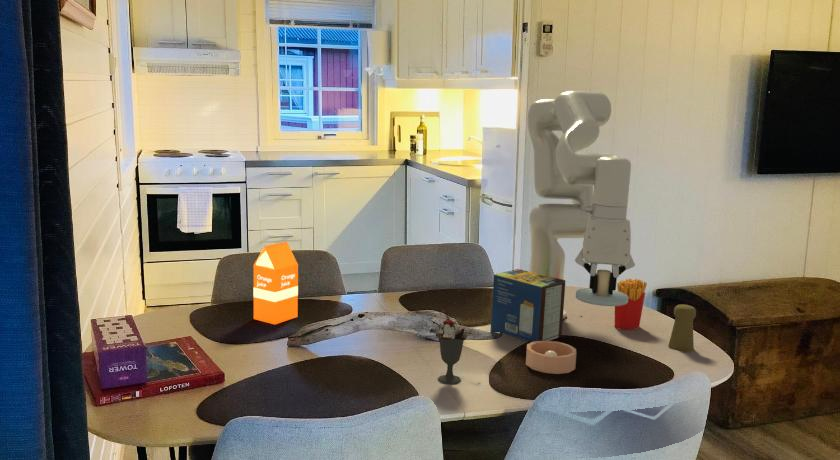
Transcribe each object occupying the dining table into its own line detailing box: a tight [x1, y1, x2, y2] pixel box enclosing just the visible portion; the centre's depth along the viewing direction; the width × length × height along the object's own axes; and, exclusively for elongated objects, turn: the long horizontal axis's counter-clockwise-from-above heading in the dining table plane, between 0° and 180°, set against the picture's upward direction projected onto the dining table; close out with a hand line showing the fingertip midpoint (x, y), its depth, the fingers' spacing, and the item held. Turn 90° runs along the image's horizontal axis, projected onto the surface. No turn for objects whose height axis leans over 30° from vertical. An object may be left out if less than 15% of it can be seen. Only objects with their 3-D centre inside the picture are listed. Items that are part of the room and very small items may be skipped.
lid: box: [575, 269, 628, 307], centre depth 163 cm, size 12×12×6 cm
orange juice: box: [252, 241, 299, 325], centre depth 189 cm, size 8×9×20 cm
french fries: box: [614, 278, 648, 331], centre depth 194 cm, size 9×4×13 cm, turn 115°
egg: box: [544, 350, 558, 356], centre depth 162 cm, size 3×3×3 cm
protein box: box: [490, 268, 566, 343], centre depth 183 cm, size 10×15×16 cm
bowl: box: [525, 340, 577, 375], centre depth 162 cm, size 11×11×4 cm
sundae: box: [435, 310, 468, 385], centre depth 152 cm, size 7×7×15 cm
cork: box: [668, 304, 697, 353], centre depth 179 cm, size 6×6×11 cm
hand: (602, 291), depth 163 cm, fingers closed on lid, 3 cm apart
